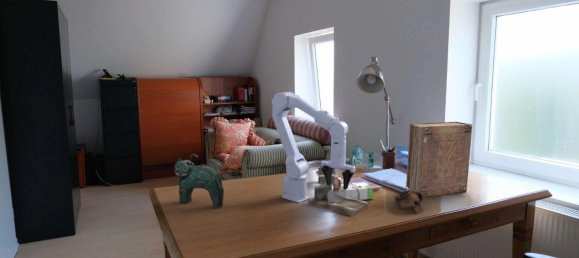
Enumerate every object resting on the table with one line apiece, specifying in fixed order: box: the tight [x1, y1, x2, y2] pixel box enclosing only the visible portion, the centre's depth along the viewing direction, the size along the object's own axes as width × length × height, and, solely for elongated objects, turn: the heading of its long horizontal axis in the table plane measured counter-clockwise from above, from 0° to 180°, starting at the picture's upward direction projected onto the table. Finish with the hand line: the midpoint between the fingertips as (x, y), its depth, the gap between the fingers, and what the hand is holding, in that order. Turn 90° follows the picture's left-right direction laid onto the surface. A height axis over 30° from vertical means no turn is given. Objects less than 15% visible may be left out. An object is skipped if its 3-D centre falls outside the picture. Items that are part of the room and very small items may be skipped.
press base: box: [307, 183, 369, 217], centre depth 149 cm, size 20×12×6 cm, turn 50°
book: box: [405, 121, 473, 198], centre depth 166 cm, size 25×9×30 cm, turn 109°
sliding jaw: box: [328, 176, 346, 204], centre depth 149 cm, size 3×8×9 cm, turn 140°
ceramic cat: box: [173, 153, 225, 209], centre depth 148 cm, size 20×6×20 cm, turn 70°
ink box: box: [341, 181, 374, 201], centre depth 159 cm, size 9×5×12 cm
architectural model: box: [315, 161, 339, 186], centre depth 178 cm, size 19×17×11 cm
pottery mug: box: [393, 190, 424, 214], centre depth 147 cm, size 12×10×8 cm
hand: (337, 186), depth 148 cm, fingers open, 7 cm apart
